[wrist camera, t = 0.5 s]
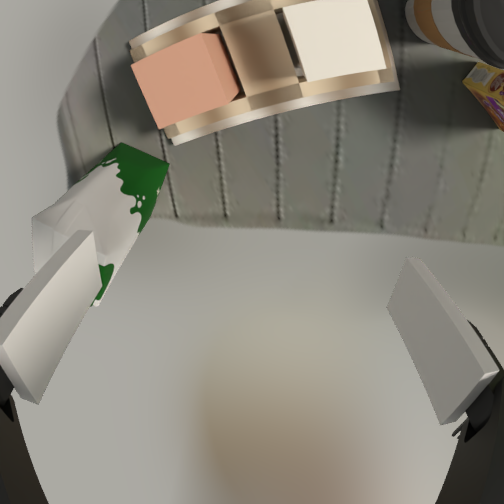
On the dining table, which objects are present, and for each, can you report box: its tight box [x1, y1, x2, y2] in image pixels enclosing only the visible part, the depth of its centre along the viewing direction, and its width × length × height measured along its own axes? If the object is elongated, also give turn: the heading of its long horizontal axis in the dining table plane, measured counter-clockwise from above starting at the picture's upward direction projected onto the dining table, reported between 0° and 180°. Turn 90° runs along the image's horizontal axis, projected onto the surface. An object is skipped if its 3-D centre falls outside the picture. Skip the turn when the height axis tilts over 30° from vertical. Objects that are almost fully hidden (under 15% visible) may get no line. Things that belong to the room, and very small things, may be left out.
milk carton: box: [32, 142, 170, 307], centre depth 30 cm, size 9×9×20 cm
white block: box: [283, 0, 386, 82], centre depth 20 cm, size 6×6×7 cm
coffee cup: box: [405, 0, 504, 69], centre depth 15 cm, size 8×8×15 cm
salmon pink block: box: [131, 33, 241, 129], centre depth 23 cm, size 6×6×7 cm
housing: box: [129, 0, 400, 146], centre depth 25 cm, size 26×14×6 cm, turn 108°
